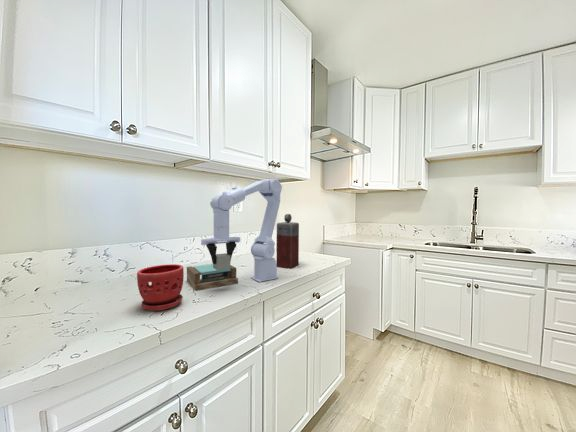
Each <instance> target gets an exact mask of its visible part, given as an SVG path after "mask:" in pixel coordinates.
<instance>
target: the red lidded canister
mask: <svg viewBox="0 0 576 432" xmlns="http://www.w3.org/2000/svg"><path fill="white" fill-rule="evenodd" d="M283 217H284V222H277V223H276V246H275V247H276V248H275V250H276V251H275V252H276V264H277V268H281V269H288V268H289V269H290V270H292V269H294V268H297V267H298V265H299V262H300V260H299V258H300V257H299V254H300V252H299V249H300V248H299V247H300V245H299V244H300V243H299V242H300V239H299V238H300V224H299V222H293V221H292V217H293V216H292V215H291V213H285V215H284V216H283ZM291 221H292V222H291ZM296 266H297V267H296ZM289 269H288V270H289Z"/></svg>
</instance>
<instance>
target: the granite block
mask: <svg viewBox="0 0 576 432" xmlns="http://www.w3.org/2000/svg"><path fill="white" fill-rule="evenodd" d="M212 264H213V263H212ZM230 265H231V262H230V255H228V254H227V252H225V253H216V264H213V268H214V269H216V270H224V269H230Z"/></svg>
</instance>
